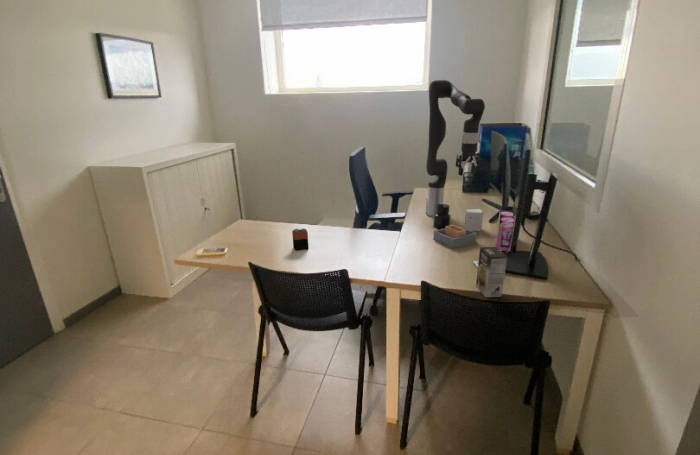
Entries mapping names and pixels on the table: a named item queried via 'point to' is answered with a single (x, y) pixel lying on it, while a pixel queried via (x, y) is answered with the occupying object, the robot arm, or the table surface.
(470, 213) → the small box
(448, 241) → the crate
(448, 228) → the box
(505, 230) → the gum box
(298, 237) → the battery
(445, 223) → the ink bottle
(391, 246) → the table surface
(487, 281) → the coffee box
